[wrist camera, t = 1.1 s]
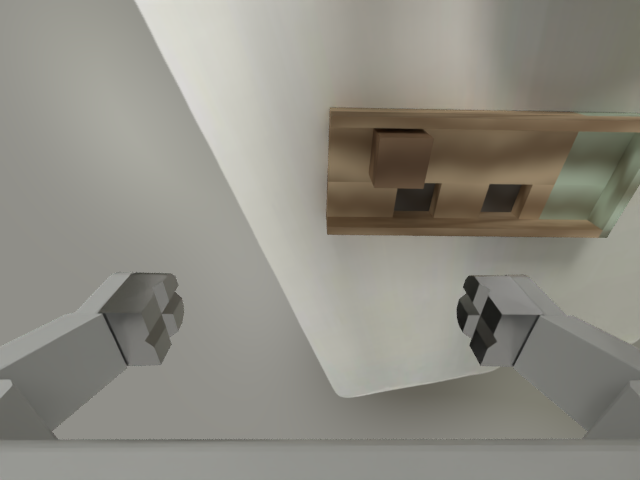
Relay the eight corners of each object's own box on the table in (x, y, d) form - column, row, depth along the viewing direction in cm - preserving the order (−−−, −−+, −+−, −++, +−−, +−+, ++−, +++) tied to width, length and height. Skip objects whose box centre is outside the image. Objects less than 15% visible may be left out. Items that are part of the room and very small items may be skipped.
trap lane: (329, 107, 33) (331, 116, 29) (636, 113, 33) (677, 122, 29) (326, 216, 40) (327, 234, 36) (579, 219, 40) (606, 237, 36)
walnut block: (373, 127, 32) (380, 137, 28) (421, 128, 32) (434, 138, 29) (368, 173, 35) (374, 188, 31) (413, 174, 35) (423, 188, 31)
